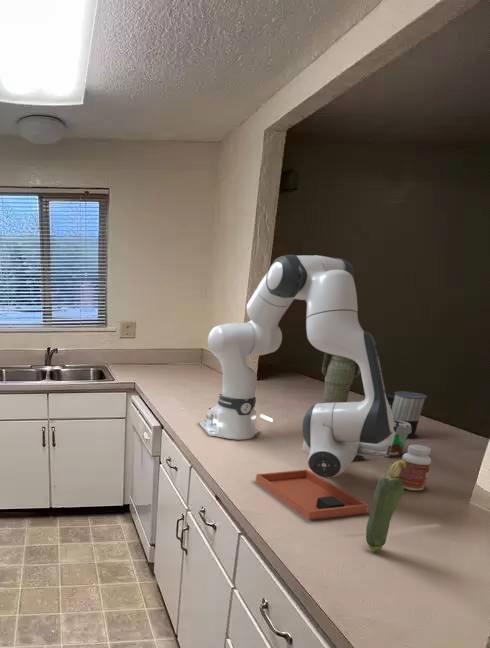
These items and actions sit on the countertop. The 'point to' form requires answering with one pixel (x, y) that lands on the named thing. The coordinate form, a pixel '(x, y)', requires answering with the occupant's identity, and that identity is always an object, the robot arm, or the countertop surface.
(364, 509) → the tray
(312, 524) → the countertop surface
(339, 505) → the block
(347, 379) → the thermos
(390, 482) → the vegetable
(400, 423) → the food container
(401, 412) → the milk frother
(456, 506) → the countertop surface
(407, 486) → the pill bottle
